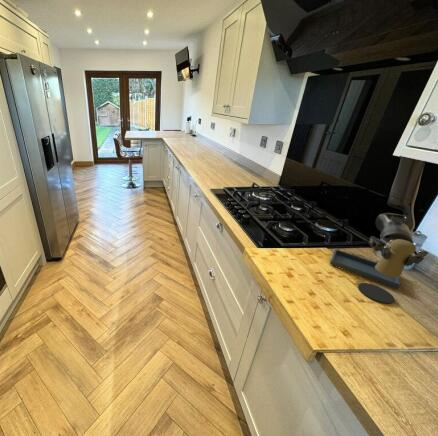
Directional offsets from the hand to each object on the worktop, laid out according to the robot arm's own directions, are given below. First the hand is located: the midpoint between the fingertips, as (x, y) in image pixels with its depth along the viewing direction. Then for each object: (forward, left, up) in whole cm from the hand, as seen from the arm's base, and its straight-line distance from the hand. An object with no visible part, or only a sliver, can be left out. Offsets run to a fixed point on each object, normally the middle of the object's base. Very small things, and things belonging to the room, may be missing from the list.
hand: (397, 259), depth 69 cm
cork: (0, -3, -6) cm, 7 cm away
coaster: (0, -2, -15) cm, 15 cm away
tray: (+4, -16, -15) cm, 22 cm away
